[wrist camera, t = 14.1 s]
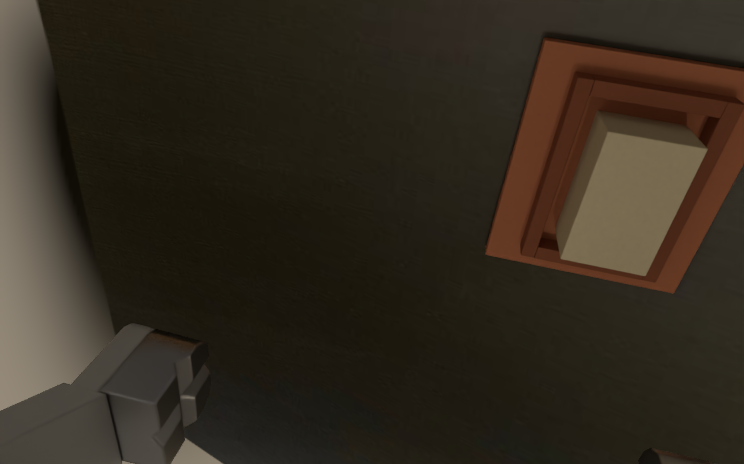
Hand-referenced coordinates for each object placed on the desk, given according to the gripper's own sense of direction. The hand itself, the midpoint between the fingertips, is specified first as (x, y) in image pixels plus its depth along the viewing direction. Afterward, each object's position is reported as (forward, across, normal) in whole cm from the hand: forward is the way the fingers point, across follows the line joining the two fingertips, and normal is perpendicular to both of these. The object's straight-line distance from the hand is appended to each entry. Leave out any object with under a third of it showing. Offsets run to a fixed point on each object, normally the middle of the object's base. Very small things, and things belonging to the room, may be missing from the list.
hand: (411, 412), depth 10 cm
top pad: (+28, -11, +6) cm, 31 cm away
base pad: (+29, -11, +6) cm, 32 cm away
